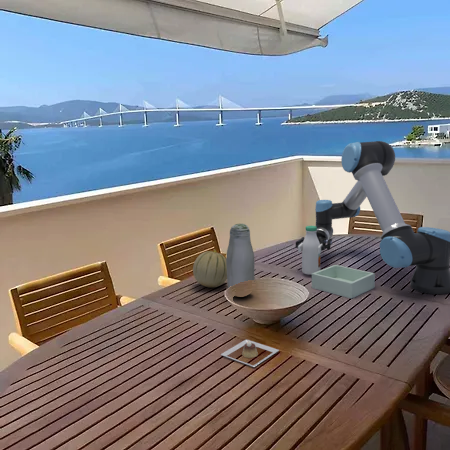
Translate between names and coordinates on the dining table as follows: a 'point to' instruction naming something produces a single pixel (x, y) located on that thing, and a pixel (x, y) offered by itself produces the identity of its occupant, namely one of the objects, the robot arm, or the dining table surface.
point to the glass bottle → (239, 255)
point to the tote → (343, 281)
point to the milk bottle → (310, 251)
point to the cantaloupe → (210, 269)
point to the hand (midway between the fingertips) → (308, 250)
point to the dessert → (250, 350)
